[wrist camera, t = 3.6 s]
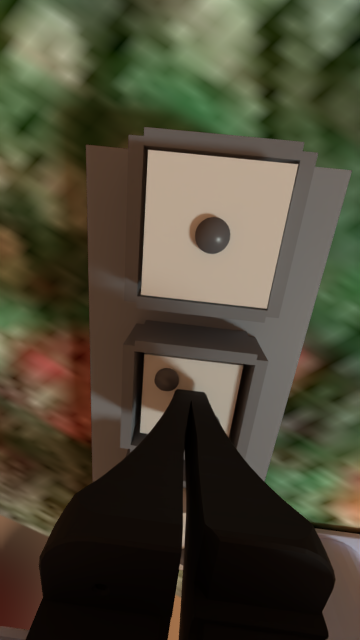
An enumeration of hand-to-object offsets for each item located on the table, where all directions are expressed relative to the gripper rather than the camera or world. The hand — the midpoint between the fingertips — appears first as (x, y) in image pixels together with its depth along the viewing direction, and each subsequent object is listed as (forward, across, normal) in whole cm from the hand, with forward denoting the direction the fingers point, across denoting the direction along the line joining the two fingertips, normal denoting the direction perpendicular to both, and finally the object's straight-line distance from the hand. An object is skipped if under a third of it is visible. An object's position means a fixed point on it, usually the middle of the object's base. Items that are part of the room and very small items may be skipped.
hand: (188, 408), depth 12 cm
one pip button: (+1, 0, -8) cm, 8 cm away
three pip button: (+2, 0, 0) cm, 2 cm away
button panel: (+5, 0, 0) cm, 5 cm away
